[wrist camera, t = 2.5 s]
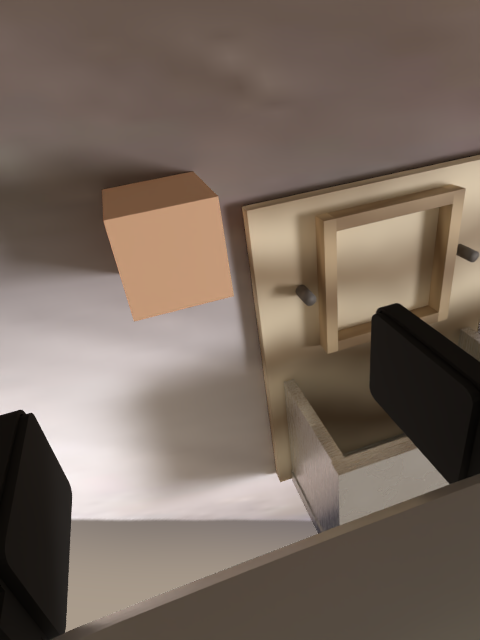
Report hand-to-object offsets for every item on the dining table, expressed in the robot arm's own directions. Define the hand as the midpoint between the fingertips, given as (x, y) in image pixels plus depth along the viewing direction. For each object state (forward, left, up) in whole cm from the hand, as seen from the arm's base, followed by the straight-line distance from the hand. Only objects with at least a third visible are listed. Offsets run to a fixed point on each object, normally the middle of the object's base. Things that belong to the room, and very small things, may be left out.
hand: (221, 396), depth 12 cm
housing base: (+12, +14, -16) cm, 24 cm away
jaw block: (0, 0, -16) cm, 16 cm away
